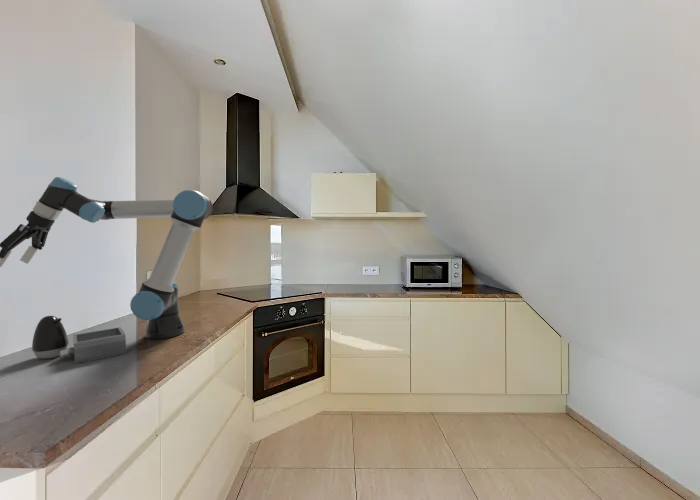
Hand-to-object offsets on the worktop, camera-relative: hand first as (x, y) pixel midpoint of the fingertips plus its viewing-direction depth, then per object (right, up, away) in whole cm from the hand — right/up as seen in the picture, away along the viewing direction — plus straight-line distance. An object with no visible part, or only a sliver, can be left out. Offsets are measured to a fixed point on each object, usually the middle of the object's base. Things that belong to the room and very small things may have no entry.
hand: (10, 263), depth 128 cm
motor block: (+31, -34, 0) cm, 46 cm away
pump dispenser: (+16, -35, -1) cm, 38 cm away
